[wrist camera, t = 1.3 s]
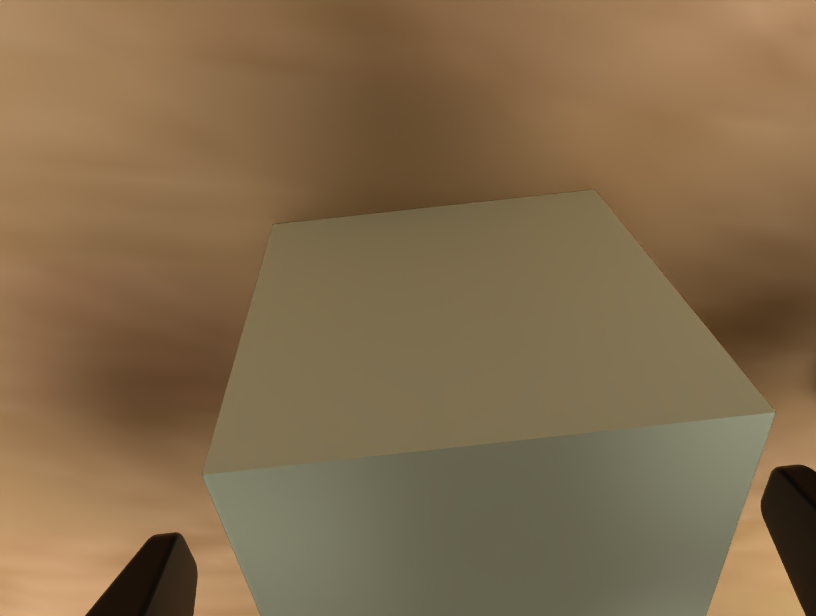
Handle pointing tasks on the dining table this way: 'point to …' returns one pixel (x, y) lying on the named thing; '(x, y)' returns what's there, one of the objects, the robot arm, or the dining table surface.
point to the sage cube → (479, 420)
